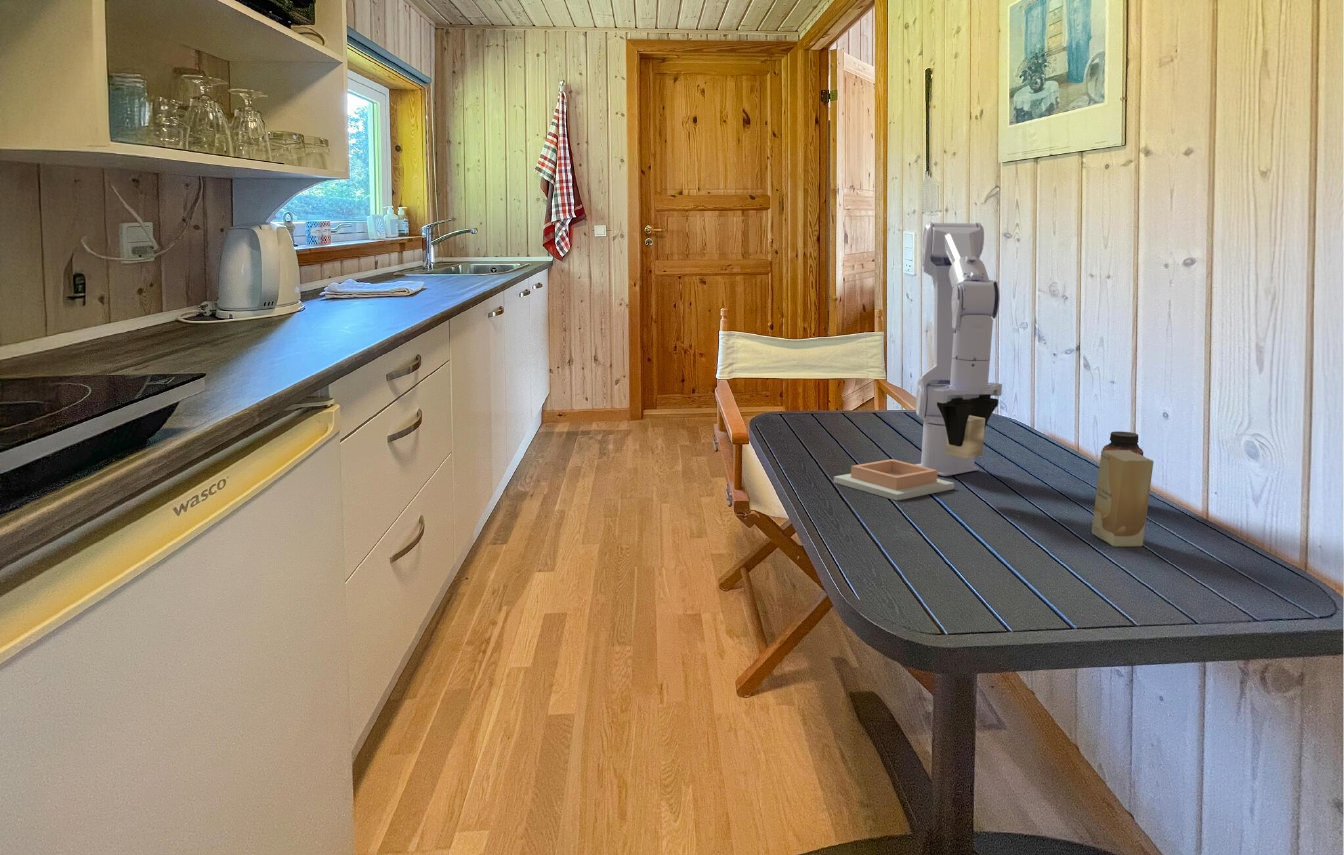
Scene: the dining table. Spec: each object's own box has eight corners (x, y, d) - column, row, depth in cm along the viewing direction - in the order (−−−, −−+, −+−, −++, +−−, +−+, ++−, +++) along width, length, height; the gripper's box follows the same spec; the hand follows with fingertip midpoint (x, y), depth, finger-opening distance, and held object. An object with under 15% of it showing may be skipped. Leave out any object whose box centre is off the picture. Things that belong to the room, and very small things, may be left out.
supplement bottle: (1142, 509, 150) (1150, 438, 148) (1101, 506, 151) (1108, 435, 149) (1132, 499, 155) (1139, 430, 153) (1093, 497, 157) (1100, 428, 154)
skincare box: (1090, 533, 136) (1098, 449, 134) (1119, 533, 137) (1128, 449, 135) (1114, 547, 130) (1123, 459, 128) (1145, 547, 131) (1155, 459, 128)
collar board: (890, 472, 172) (891, 455, 171) (953, 488, 161) (955, 471, 160) (833, 482, 164) (834, 465, 163) (896, 500, 153) (897, 482, 152)
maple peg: (961, 450, 156) (964, 414, 155) (982, 455, 153) (985, 418, 152) (945, 453, 154) (948, 416, 153) (966, 458, 151) (969, 420, 150)
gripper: (962, 364, 143) (956, 453, 146) (1021, 358, 152) (1013, 443, 154) (924, 359, 149) (919, 445, 152) (983, 354, 157) (977, 435, 160)
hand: (964, 443), depth 153 cm, fingers closed on maple peg, 4 cm apart
